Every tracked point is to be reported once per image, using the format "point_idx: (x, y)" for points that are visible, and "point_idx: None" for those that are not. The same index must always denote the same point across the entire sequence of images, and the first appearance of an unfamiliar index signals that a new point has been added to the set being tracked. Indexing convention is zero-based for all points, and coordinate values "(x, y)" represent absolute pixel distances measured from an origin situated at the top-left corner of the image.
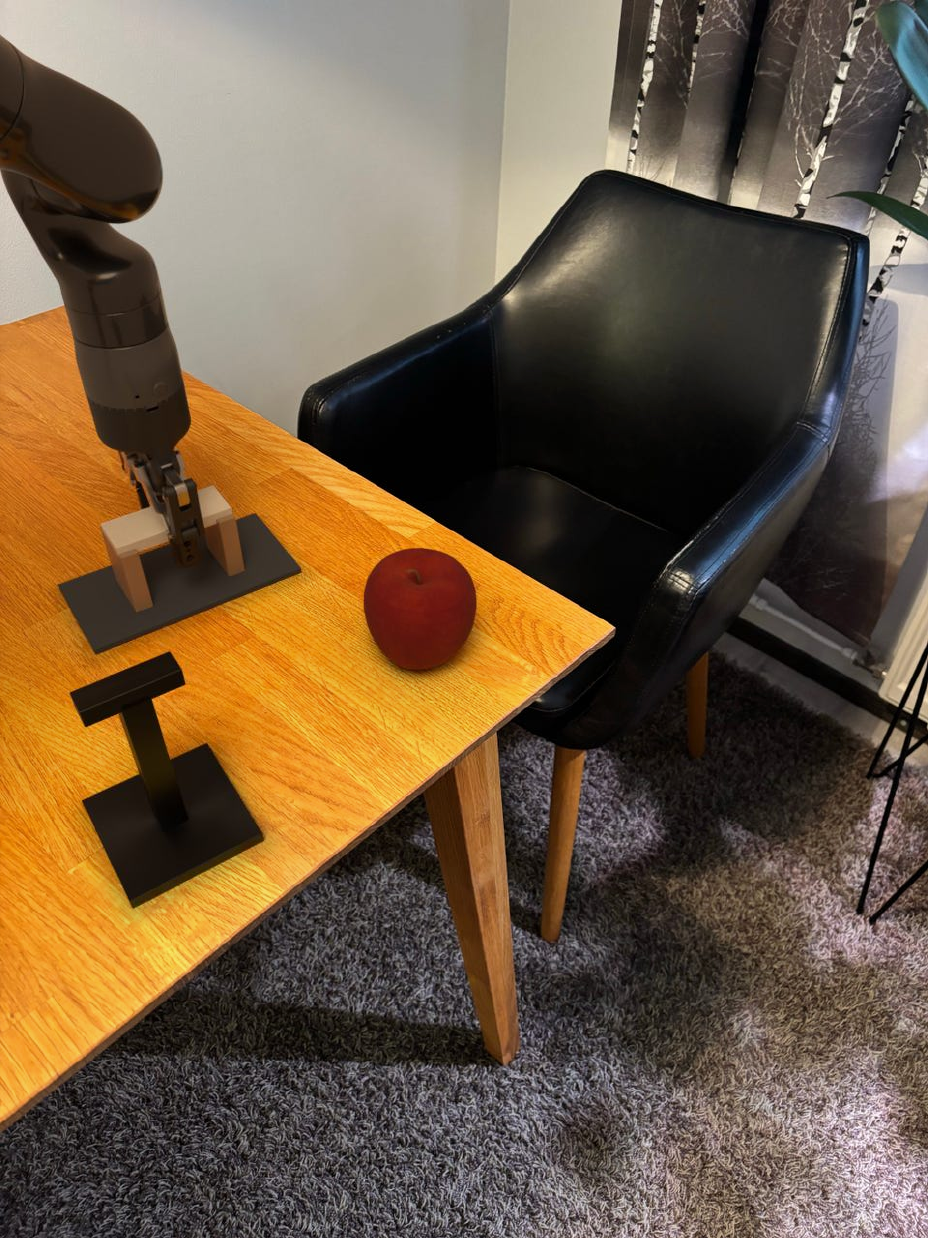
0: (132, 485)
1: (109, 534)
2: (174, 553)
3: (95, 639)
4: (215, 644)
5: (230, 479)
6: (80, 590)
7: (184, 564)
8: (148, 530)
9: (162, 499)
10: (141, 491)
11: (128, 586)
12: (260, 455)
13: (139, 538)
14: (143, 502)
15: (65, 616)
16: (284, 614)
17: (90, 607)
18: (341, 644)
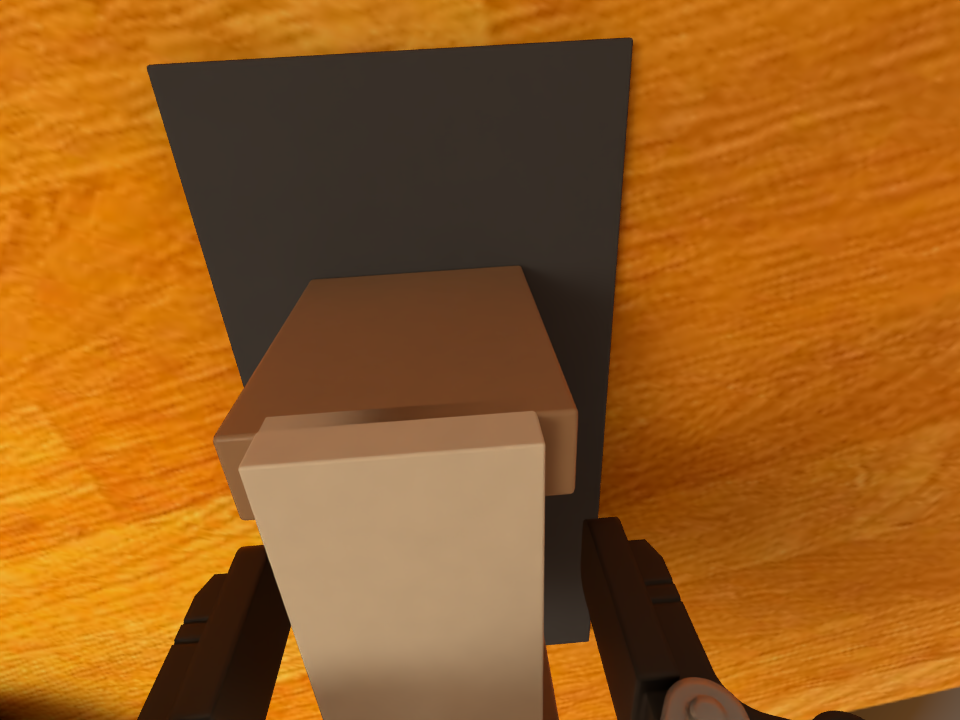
0: (688, 711)
1: (401, 466)
2: (210, 618)
3: (212, 91)
4: (112, 433)
5: (764, 618)
6: (540, 122)
7: (202, 592)
8: (342, 623)
9: (606, 663)
10: (646, 689)
11: (278, 336)
12: (794, 680)
13: (287, 582)
14: (616, 624)
15: (445, 13)
16: (189, 590)
17: (417, 130)
18: (42, 649)
